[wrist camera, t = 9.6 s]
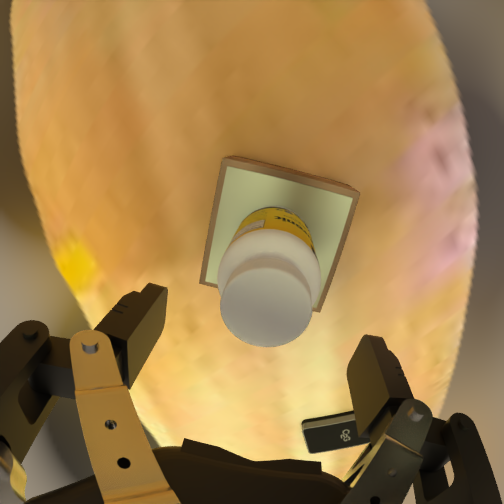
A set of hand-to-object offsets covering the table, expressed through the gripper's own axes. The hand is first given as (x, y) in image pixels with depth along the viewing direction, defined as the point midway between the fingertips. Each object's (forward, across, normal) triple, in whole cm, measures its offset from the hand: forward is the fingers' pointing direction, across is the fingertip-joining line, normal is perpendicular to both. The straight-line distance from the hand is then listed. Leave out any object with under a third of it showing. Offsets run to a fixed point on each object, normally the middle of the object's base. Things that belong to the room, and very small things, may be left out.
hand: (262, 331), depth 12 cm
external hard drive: (+16, -16, +24) cm, 33 cm away
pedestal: (+15, 0, 0) cm, 15 cm away
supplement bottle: (+11, 0, 0) cm, 11 cm away
